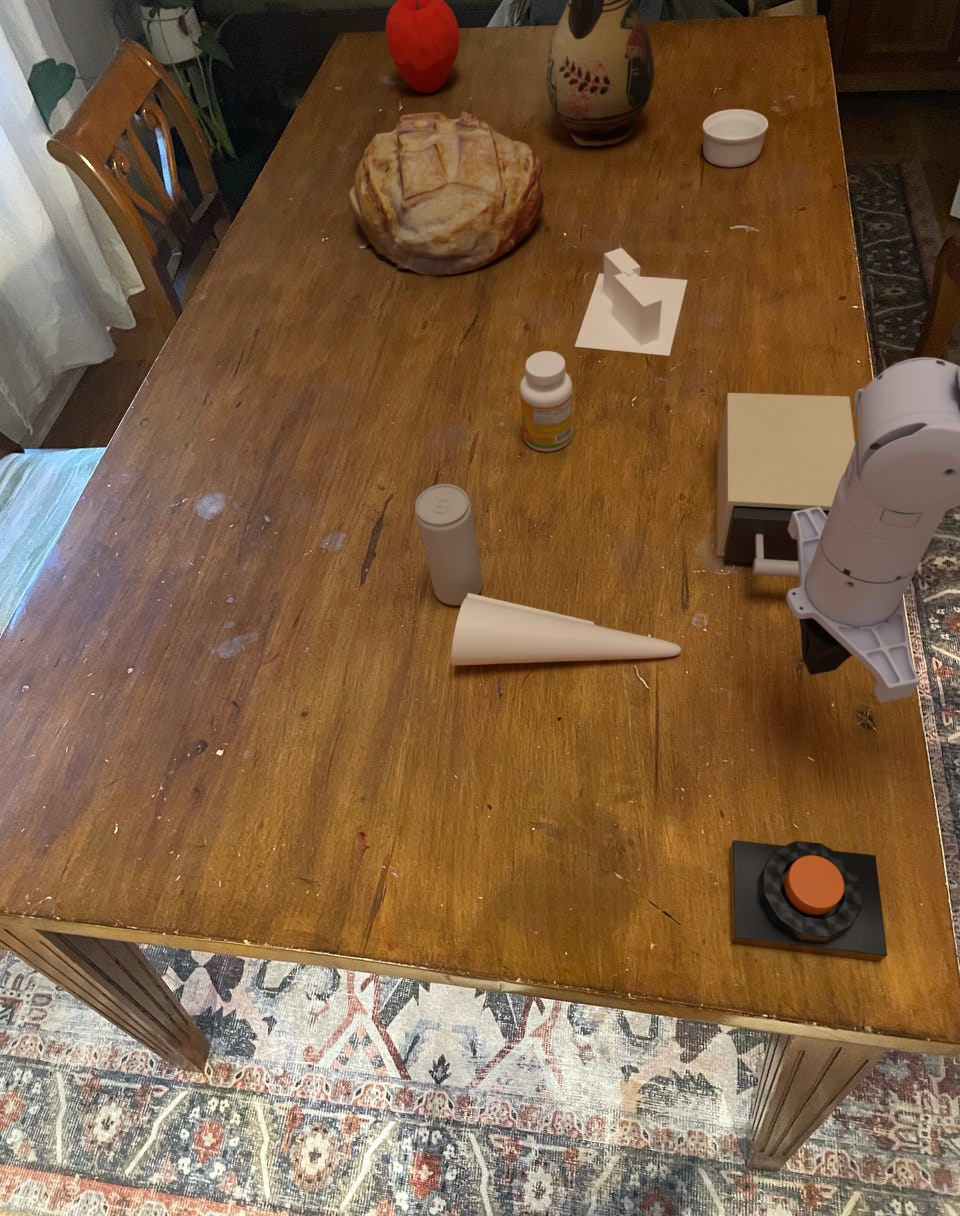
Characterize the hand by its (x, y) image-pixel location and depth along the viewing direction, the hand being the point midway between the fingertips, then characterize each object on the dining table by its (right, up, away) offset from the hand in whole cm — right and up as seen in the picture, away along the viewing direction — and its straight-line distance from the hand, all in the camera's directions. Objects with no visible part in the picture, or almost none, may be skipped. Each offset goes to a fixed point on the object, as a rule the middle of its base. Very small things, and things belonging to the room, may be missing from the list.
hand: (819, 664), depth 62 cm
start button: (-2, -15, -3) cm, 16 cm away
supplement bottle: (-17, +23, +30) cm, 42 cm away
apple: (-33, +93, +82) cm, 128 cm away
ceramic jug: (-7, +76, +67) cm, 102 cm away
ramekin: (+11, +69, +60) cm, 92 cm away
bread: (-29, +58, +57) cm, 86 cm away
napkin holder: (-6, +40, +41) cm, 58 cm away
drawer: (+4, +12, +19) cm, 22 cm away
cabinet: (+4, +14, +21) cm, 26 cm away
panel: (-2, -17, 0) cm, 17 cm away
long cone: (-17, -1, +14) cm, 22 cm away
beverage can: (-27, +6, +19) cm, 34 cm away
